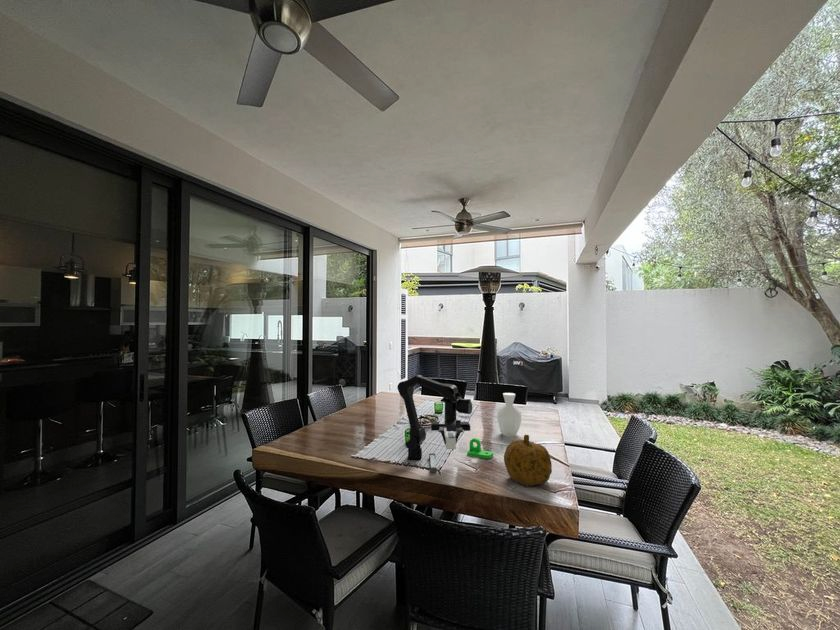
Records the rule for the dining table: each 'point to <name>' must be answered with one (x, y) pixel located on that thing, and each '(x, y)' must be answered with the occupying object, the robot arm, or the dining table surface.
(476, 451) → the mechanical part
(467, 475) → the dining table surface
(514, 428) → the vase
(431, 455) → the rail
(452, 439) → the block
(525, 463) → the decorative pumpkin
